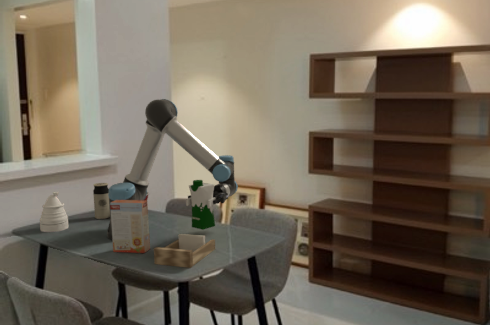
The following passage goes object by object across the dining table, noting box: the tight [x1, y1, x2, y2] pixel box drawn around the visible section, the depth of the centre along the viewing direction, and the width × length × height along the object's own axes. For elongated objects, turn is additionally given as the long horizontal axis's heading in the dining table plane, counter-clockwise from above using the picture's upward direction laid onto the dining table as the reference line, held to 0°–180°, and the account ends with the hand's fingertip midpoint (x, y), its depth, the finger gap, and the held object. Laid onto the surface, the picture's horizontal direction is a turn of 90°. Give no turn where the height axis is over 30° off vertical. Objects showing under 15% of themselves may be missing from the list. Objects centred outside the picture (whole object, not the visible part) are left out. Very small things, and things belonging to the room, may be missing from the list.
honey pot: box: [39, 191, 69, 233], centre depth 241 cm, size 13×13×18 cm
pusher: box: [178, 233, 206, 253], centre depth 199 cm, size 11×2×7 cm, turn 70°
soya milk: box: [188, 179, 216, 231], centre depth 207 cm, size 9×9×20 cm
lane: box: [153, 238, 216, 269], centre depth 194 cm, size 15×23×6 cm, turn 160°
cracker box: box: [110, 199, 151, 254], centre depth 202 cm, size 14×6×21 cm, turn 77°
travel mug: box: [92, 182, 110, 220], centre depth 261 cm, size 8×8×18 cm
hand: (197, 203), depth 203 cm, fingers closed on soya milk, 9 cm apart
